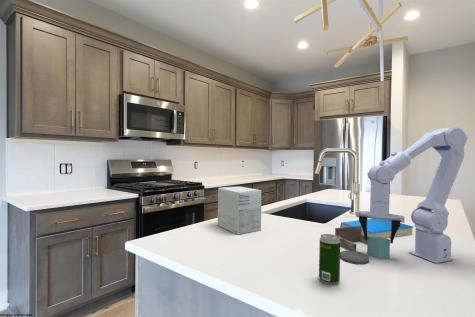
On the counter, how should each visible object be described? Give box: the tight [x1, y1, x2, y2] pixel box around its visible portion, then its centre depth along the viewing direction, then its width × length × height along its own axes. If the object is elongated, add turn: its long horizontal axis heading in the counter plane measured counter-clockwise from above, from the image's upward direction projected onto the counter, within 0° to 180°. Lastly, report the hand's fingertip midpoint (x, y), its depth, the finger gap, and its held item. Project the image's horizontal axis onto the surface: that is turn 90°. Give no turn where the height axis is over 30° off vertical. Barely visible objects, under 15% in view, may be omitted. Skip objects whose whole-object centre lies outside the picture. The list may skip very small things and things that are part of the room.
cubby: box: [334, 226, 369, 251], centre depth 99 cm, size 10×12×6 cm
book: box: [339, 218, 414, 239], centre depth 118 cm, size 17×4×25 cm
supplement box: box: [217, 186, 262, 235], centre depth 122 cm, size 17×13×18 cm
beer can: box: [318, 233, 341, 286], centre depth 72 cm, size 5×5×12 cm
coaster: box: [340, 250, 370, 265], centre depth 88 cm, size 9×9×1 cm
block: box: [366, 235, 391, 260], centre depth 91 cm, size 5×4×6 cm
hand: (378, 240), depth 90 cm, fingers open, 7 cm apart
